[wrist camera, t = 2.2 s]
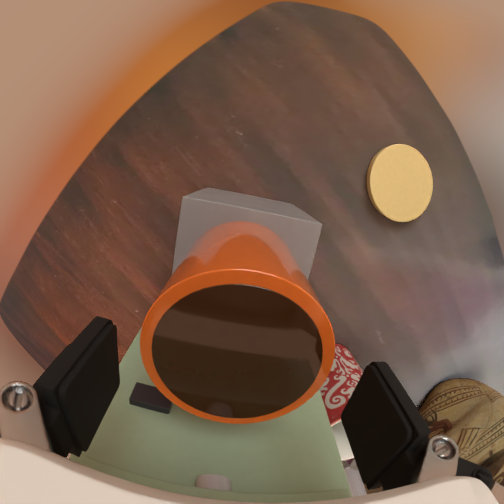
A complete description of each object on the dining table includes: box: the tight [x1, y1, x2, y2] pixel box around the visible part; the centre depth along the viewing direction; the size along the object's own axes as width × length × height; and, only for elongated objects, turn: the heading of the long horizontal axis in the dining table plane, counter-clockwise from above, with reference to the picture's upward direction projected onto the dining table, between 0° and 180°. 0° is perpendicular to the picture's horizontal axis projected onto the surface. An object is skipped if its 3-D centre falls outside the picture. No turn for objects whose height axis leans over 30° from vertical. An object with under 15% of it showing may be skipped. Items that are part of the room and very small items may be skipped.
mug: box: [319, 344, 363, 461], centre depth 29 cm, size 13×9×14 cm
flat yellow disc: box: [367, 144, 433, 222], centre depth 28 cm, size 9×9×1 cm
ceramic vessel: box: [418, 379, 504, 487], centre depth 26 cm, size 19×21×30 cm
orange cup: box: [140, 221, 335, 424], centre depth 14 cm, size 7×7×9 cm
